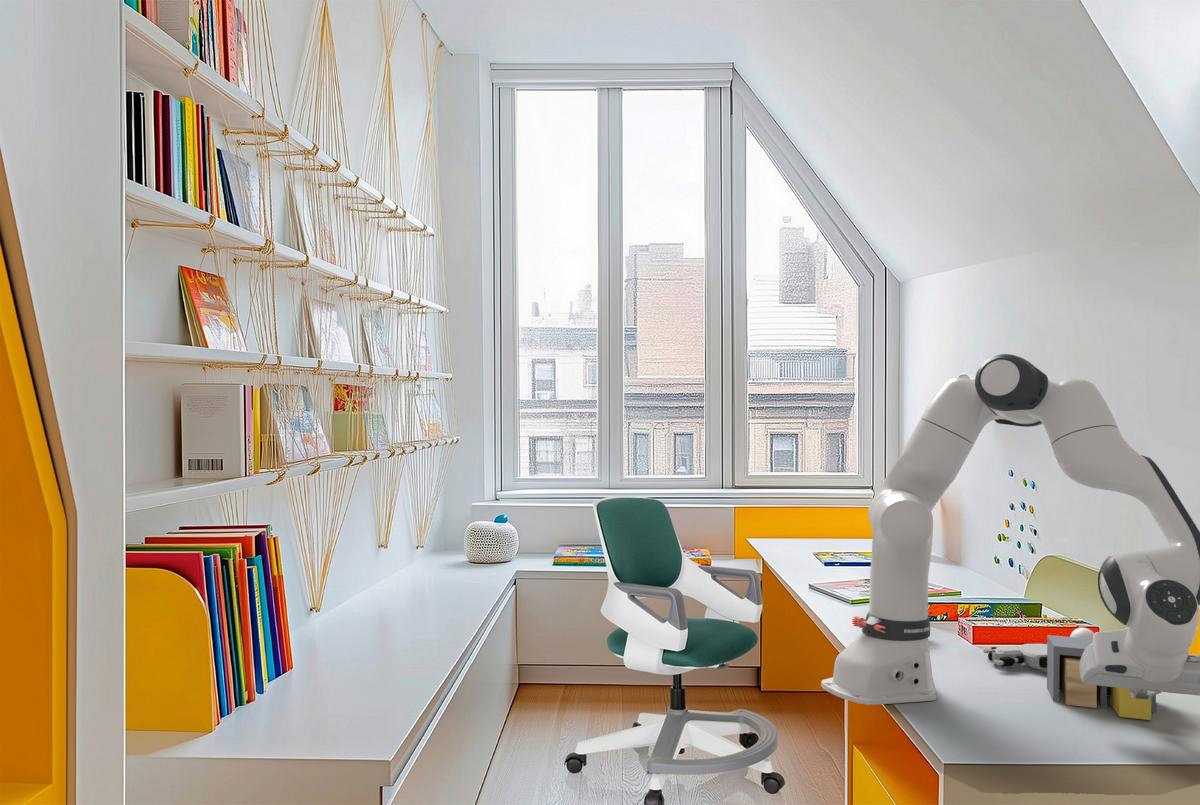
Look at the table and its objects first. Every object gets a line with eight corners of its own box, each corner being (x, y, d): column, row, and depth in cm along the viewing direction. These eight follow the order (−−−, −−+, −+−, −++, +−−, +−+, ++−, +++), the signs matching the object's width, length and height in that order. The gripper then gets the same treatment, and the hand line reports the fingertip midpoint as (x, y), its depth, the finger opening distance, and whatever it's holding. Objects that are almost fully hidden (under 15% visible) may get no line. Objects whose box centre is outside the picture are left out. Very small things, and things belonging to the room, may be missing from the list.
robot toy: (996, 677, 190) (1072, 677, 188) (994, 656, 190) (1071, 655, 188) (981, 661, 202) (1053, 660, 200) (980, 641, 203) (1052, 640, 200)
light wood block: (1096, 707, 168) (1097, 664, 168) (1066, 704, 169) (1066, 661, 169) (1089, 695, 175) (1089, 653, 175) (1060, 691, 177) (1060, 650, 177)
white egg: (1086, 657, 204) (1086, 632, 204) (1064, 650, 209) (1064, 626, 209) (1109, 653, 207) (1109, 629, 207) (1087, 647, 212) (1087, 623, 212)
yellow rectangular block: (1151, 720, 161) (1151, 675, 161) (1119, 716, 163) (1119, 672, 163) (1140, 706, 169) (1141, 663, 169) (1110, 703, 171) (1111, 660, 171)
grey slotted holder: (1155, 712, 166) (1156, 655, 166) (1053, 701, 172) (1053, 646, 172) (1144, 698, 175) (1145, 643, 175) (1046, 687, 181) (1047, 635, 181)
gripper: (1223, 642, 149) (1205, 685, 158) (1083, 631, 155) (1074, 673, 165) (1232, 677, 144) (1213, 719, 153) (1087, 664, 151) (1078, 705, 160)
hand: (1140, 695), depth 159 cm, fingers closed
